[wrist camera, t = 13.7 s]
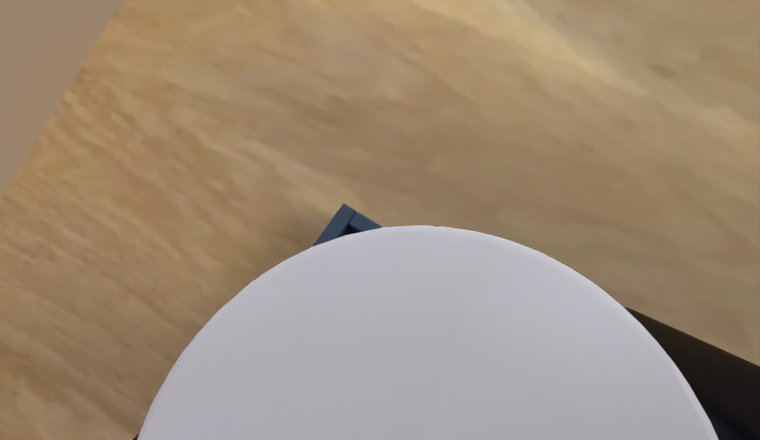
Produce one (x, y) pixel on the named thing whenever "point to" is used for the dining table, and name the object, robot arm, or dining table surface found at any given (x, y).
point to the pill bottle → (424, 351)
